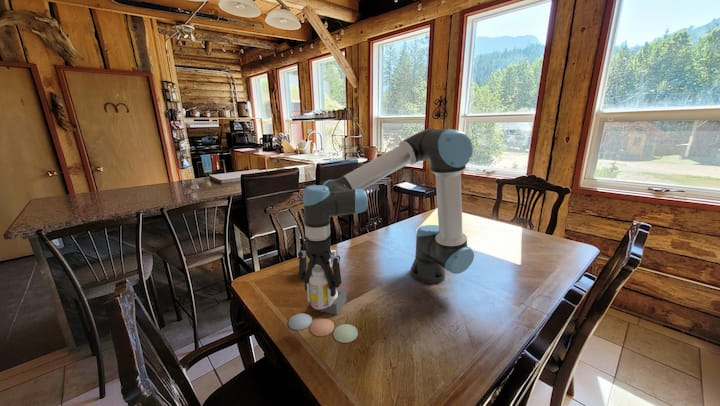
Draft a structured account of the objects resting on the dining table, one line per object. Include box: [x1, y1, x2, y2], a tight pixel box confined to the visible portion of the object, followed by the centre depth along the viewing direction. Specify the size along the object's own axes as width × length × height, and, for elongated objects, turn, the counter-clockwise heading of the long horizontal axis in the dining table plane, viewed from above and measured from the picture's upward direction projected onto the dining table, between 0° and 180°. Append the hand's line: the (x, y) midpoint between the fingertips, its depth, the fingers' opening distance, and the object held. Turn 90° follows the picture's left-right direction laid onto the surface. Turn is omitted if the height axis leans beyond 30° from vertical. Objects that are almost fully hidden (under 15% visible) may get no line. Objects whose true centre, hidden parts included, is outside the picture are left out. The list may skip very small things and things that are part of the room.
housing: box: [314, 288, 347, 316], centre depth 107 cm, size 9×9×4 cm
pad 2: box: [309, 318, 335, 337], centre depth 96 cm, size 8×8×1 cm
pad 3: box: [332, 323, 359, 344], centre depth 94 cm, size 8×8×1 cm
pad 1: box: [288, 313, 313, 331], centre depth 99 cm, size 8×8×1 cm
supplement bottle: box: [309, 266, 329, 310], centre depth 92 cm, size 7×7×13 cm
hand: (320, 301), depth 93 cm, fingers closed on supplement bottle, 7 cm apart
